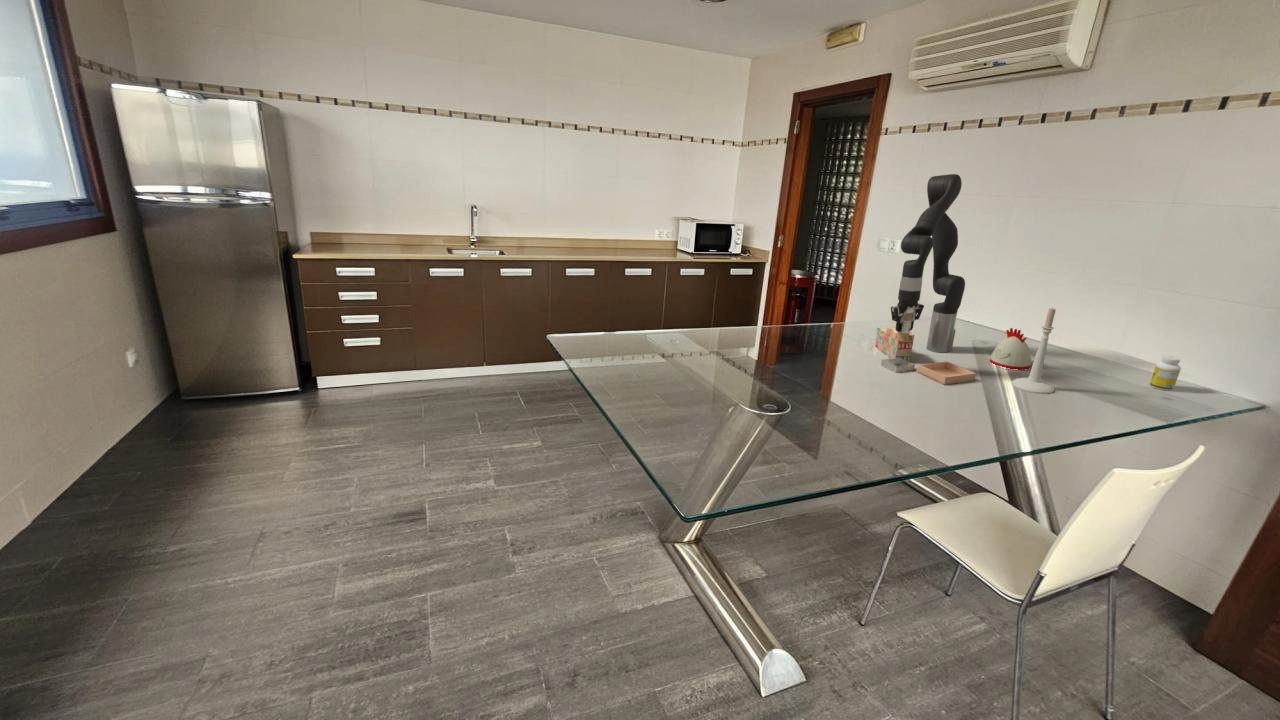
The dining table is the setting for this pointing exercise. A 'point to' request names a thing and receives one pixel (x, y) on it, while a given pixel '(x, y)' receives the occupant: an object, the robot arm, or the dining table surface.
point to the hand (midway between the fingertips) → (903, 330)
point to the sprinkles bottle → (905, 326)
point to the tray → (946, 373)
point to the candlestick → (1038, 364)
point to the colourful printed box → (893, 343)
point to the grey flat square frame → (893, 362)
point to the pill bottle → (1166, 373)
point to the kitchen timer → (1012, 352)
